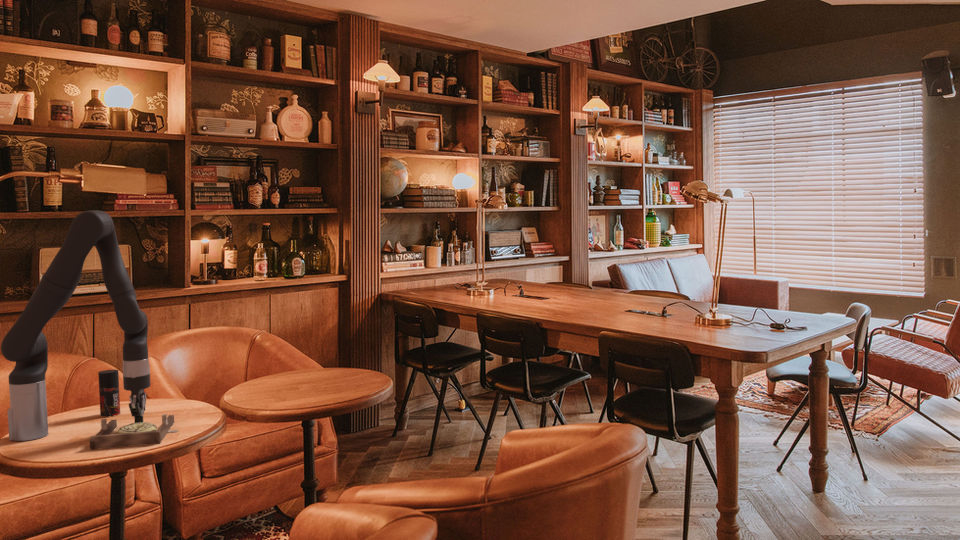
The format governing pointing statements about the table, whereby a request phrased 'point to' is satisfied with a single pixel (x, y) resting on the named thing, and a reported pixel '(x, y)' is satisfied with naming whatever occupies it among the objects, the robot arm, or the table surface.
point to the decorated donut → (137, 428)
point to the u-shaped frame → (129, 435)
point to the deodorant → (109, 392)
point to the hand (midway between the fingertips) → (139, 427)
